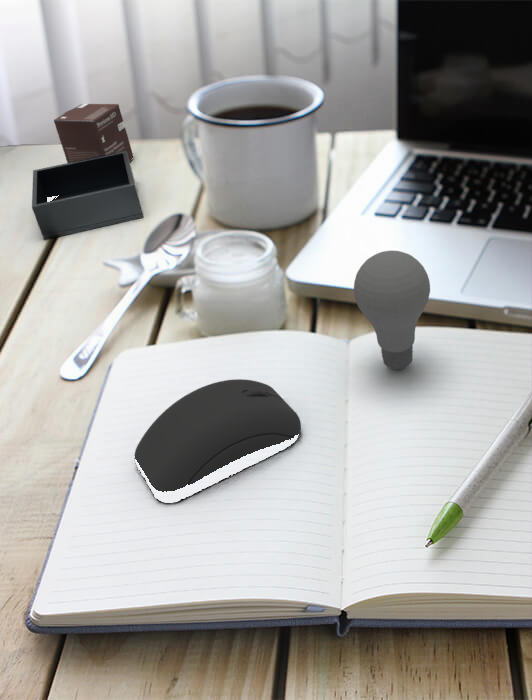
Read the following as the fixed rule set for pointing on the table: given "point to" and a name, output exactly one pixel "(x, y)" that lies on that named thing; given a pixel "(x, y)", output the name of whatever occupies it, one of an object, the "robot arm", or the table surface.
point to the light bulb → (393, 302)
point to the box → (92, 132)
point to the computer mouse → (213, 431)
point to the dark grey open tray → (85, 195)
